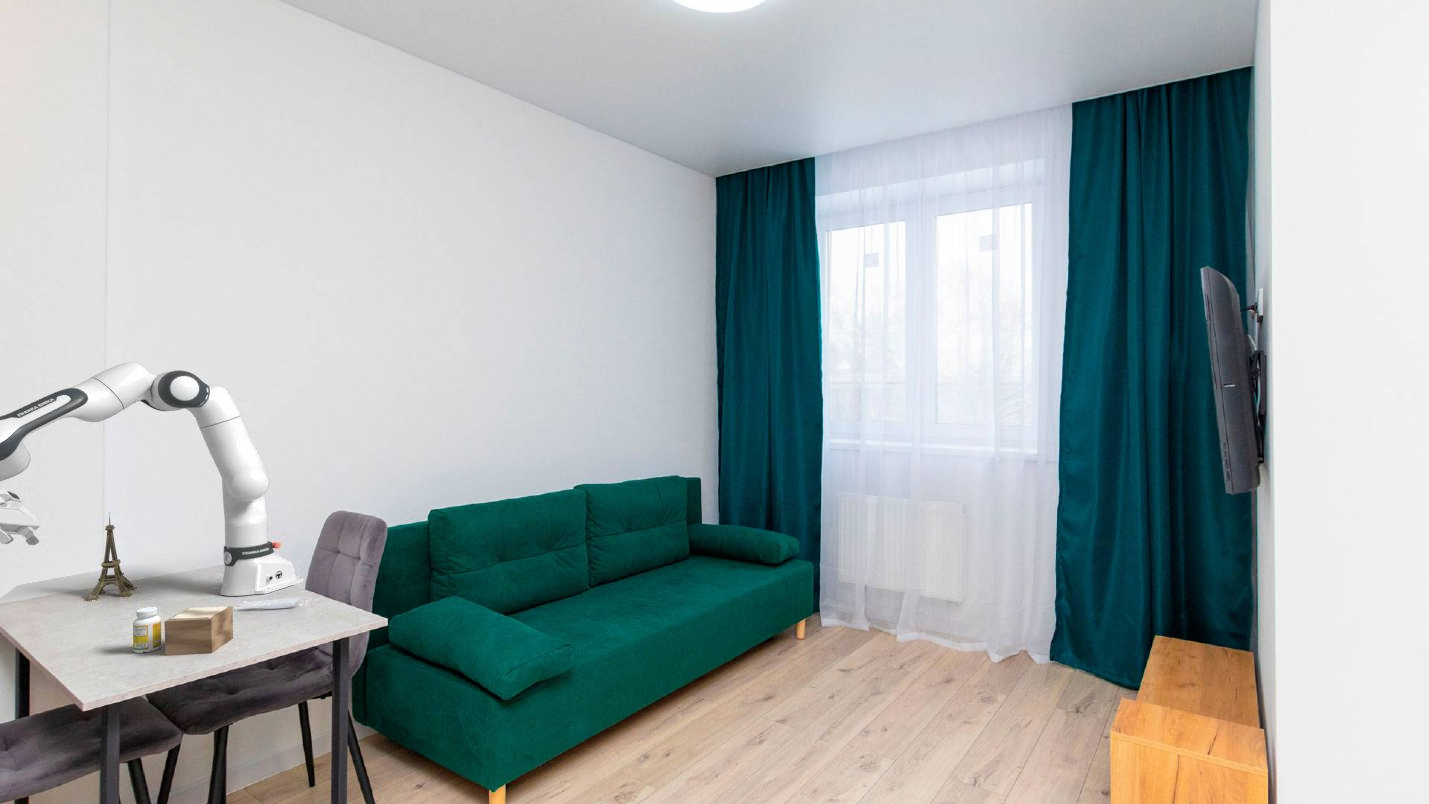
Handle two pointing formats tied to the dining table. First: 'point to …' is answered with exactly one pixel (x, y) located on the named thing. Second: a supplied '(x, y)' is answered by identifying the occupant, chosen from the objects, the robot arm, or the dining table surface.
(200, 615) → the walnut block
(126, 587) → the eiffel tower
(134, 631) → the supplement bottle
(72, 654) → the dining table surface
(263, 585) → the robot arm
